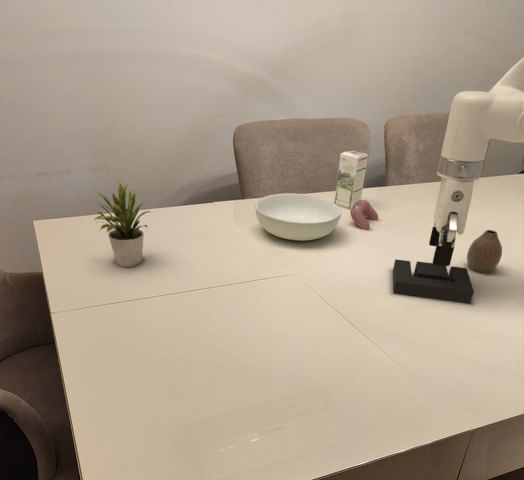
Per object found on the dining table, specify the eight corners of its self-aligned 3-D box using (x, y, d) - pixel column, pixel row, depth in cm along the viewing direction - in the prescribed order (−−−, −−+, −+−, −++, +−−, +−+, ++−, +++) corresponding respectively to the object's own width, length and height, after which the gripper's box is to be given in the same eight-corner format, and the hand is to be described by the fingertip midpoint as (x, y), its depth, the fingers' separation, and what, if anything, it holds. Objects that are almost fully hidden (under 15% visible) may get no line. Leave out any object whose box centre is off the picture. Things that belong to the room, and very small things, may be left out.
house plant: (88, 250, 110) (76, 174, 101) (151, 243, 115) (144, 171, 106) (96, 278, 100) (83, 196, 90) (164, 269, 104) (159, 191, 95)
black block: (441, 279, 107) (446, 264, 105) (444, 292, 102) (449, 276, 100) (413, 276, 107) (416, 261, 105) (414, 288, 103) (418, 273, 101)
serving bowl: (263, 252, 114) (265, 223, 110) (247, 220, 131) (248, 193, 127) (349, 248, 118) (354, 220, 114) (323, 218, 135) (326, 192, 131)
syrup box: (360, 205, 146) (369, 153, 137) (349, 210, 142) (357, 156, 134) (344, 200, 149) (351, 149, 140) (333, 205, 145) (340, 152, 137)
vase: (493, 265, 114) (505, 228, 109) (498, 278, 109) (511, 239, 104) (462, 261, 115) (472, 224, 110) (465, 273, 110) (476, 235, 105)
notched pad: (462, 280, 107) (466, 268, 105) (469, 305, 98) (474, 291, 96) (392, 271, 109) (395, 259, 107) (392, 294, 100) (395, 281, 98)
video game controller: (364, 223, 138) (356, 198, 135) (379, 218, 135) (372, 193, 133) (353, 234, 130) (345, 208, 128) (369, 229, 128) (361, 203, 125)
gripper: (489, 182, 84) (463, 275, 93) (474, 158, 98) (453, 241, 107) (442, 178, 85) (421, 271, 94) (434, 155, 99) (417, 237, 108)
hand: (438, 255), depth 101 cm, fingers open, 9 cm apart
